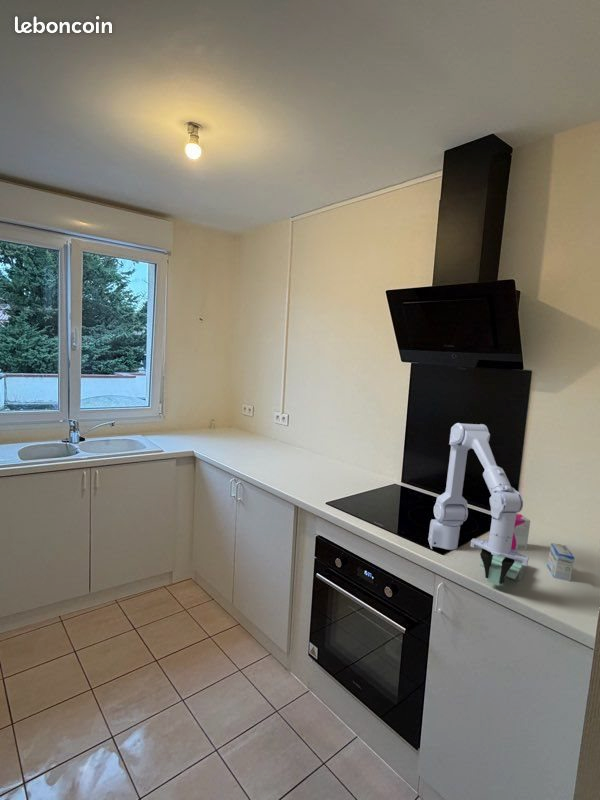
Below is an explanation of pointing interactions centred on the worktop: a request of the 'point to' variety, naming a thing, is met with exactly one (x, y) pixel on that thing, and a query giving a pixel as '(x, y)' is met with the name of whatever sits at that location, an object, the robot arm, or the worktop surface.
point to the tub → (519, 574)
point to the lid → (496, 570)
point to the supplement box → (520, 533)
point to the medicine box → (560, 562)
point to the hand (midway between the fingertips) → (494, 579)
